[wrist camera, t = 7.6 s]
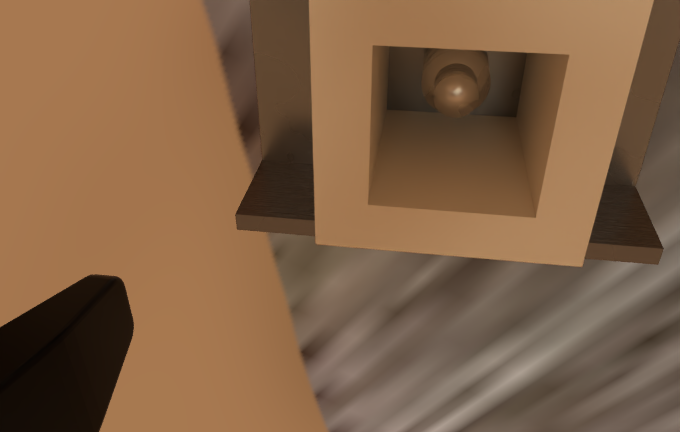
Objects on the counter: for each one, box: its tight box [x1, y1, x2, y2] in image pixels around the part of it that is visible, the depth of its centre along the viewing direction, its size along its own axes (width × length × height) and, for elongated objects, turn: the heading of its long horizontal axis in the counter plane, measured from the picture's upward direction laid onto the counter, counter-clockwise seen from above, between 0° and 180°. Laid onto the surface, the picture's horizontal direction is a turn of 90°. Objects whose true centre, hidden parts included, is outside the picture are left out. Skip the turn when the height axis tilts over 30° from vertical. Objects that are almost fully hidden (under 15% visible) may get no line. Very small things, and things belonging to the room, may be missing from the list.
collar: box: [309, 0, 654, 267], centre depth 15 cm, size 6×6×5 cm
